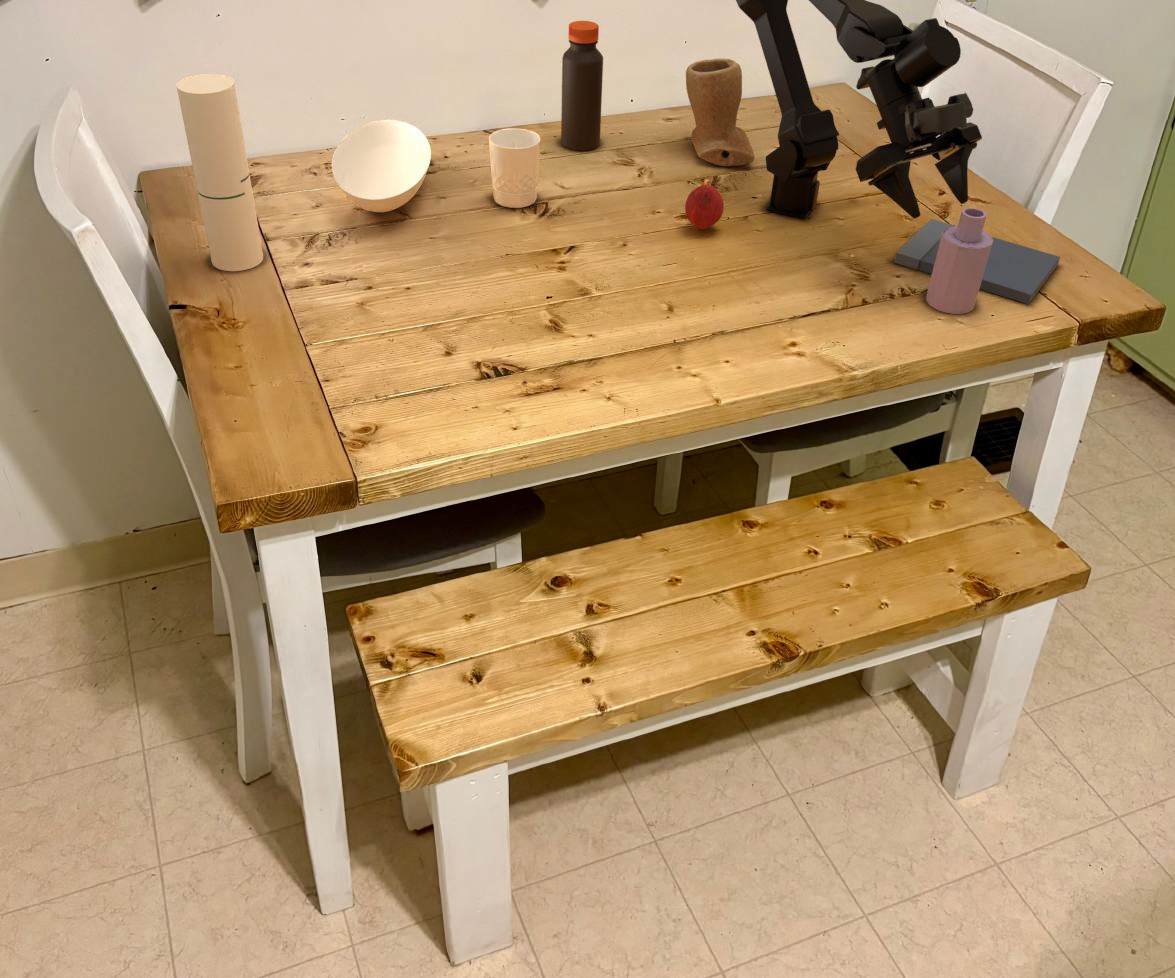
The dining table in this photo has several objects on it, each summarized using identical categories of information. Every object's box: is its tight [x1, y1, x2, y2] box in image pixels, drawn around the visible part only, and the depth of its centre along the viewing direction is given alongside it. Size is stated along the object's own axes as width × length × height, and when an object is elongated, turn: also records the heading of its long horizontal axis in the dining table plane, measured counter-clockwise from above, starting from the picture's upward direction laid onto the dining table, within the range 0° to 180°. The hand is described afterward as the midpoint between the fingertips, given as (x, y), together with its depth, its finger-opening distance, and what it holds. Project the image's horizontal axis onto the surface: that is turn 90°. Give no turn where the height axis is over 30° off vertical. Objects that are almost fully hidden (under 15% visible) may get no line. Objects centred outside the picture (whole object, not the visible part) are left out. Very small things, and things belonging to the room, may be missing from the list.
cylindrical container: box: [175, 73, 264, 272], centre depth 152 cm, size 7×7×25 cm
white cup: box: [488, 127, 541, 209], centre depth 175 cm, size 8×8×10 cm
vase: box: [925, 206, 993, 315], centre depth 153 cm, size 7×7×14 cm
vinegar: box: [560, 20, 604, 152], centre depth 189 cm, size 7×7×20 cm
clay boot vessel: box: [685, 58, 756, 167], centre depth 190 cm, size 15×12×15 cm
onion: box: [684, 178, 725, 231], centre depth 169 cm, size 6×6×8 cm
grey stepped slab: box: [894, 218, 1061, 305], centre depth 166 cm, size 20×14×2 cm
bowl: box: [331, 119, 432, 213], centre depth 176 cm, size 30×15×6 cm, turn 4°
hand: (941, 209), depth 153 cm, fingers open, 9 cm apart
